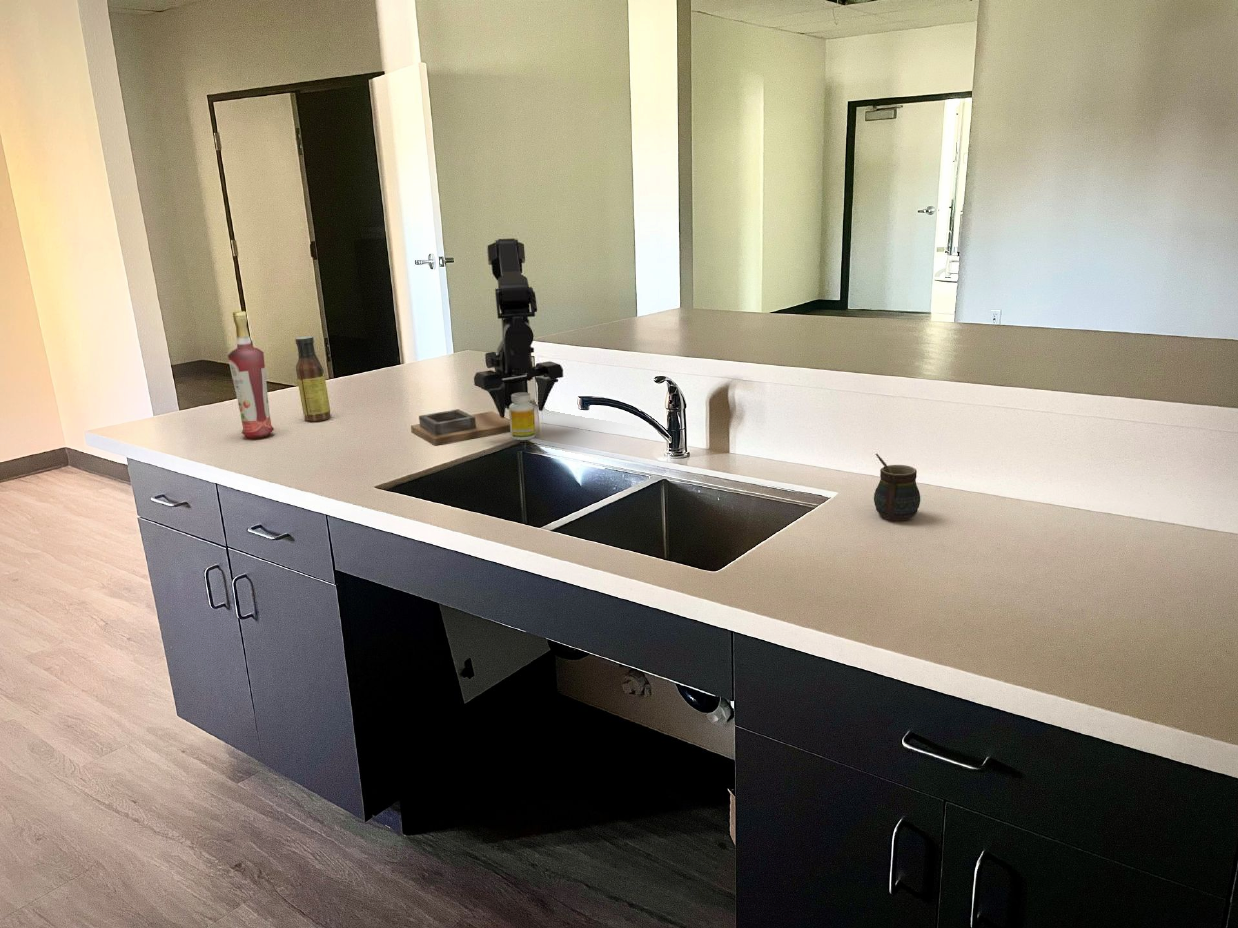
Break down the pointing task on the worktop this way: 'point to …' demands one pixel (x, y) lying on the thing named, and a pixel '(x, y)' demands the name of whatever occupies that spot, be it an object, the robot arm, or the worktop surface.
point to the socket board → (459, 426)
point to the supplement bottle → (521, 417)
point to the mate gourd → (897, 492)
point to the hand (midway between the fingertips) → (521, 414)
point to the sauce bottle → (311, 382)
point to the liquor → (250, 382)
